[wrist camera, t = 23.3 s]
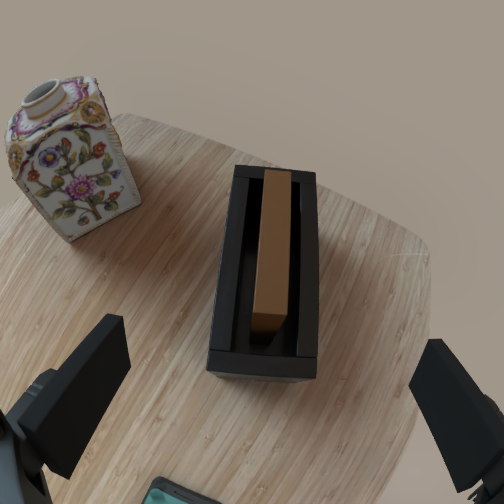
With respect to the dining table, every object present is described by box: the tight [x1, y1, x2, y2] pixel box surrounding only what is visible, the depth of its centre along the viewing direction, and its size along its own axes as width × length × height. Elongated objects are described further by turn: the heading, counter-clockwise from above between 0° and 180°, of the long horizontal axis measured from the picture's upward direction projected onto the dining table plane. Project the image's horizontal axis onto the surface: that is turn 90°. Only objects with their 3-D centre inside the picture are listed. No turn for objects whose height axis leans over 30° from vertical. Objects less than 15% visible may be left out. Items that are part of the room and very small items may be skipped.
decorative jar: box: [5, 76, 141, 243], centre depth 28 cm, size 12×12×18 cm
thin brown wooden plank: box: [249, 169, 291, 345], centre depth 25 cm, size 11×2×12 cm, turn 175°
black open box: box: [206, 165, 319, 383], centre depth 27 cm, size 18×8×9 cm, turn 175°
